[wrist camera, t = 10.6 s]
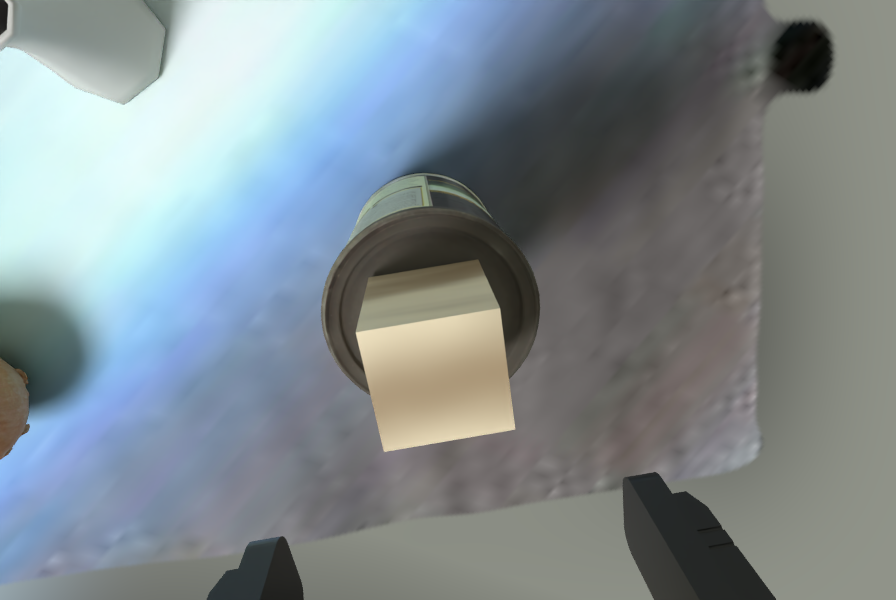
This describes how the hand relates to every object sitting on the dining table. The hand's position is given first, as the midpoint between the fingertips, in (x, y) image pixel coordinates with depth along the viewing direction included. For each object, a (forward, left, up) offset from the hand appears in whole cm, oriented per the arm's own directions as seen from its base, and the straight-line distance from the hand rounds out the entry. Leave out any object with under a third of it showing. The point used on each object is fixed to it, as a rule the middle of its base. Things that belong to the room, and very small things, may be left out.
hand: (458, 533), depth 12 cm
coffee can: (0, 0, -27) cm, 27 cm away
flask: (-16, -17, -27) cm, 36 cm away
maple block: (0, 0, -13) cm, 13 cm away
